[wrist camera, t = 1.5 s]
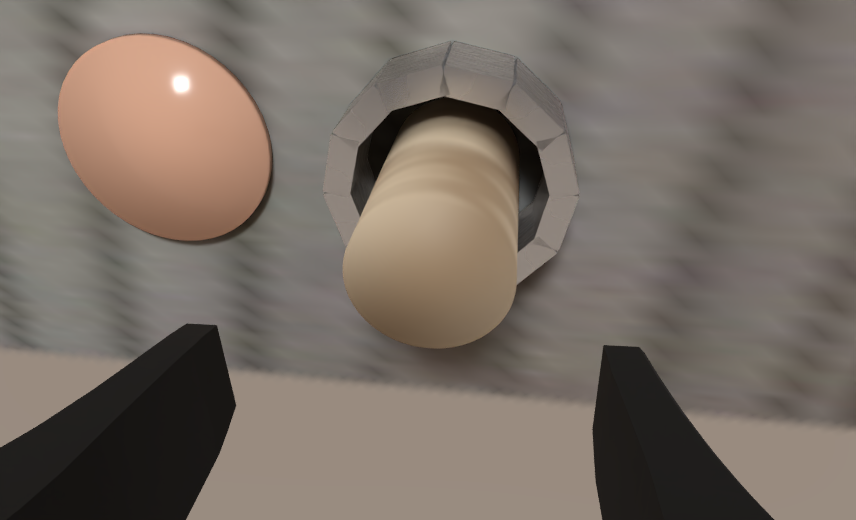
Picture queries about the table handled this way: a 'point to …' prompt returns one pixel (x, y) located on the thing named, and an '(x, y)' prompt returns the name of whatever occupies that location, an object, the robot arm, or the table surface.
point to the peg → (440, 229)
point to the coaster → (165, 136)
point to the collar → (476, 83)
